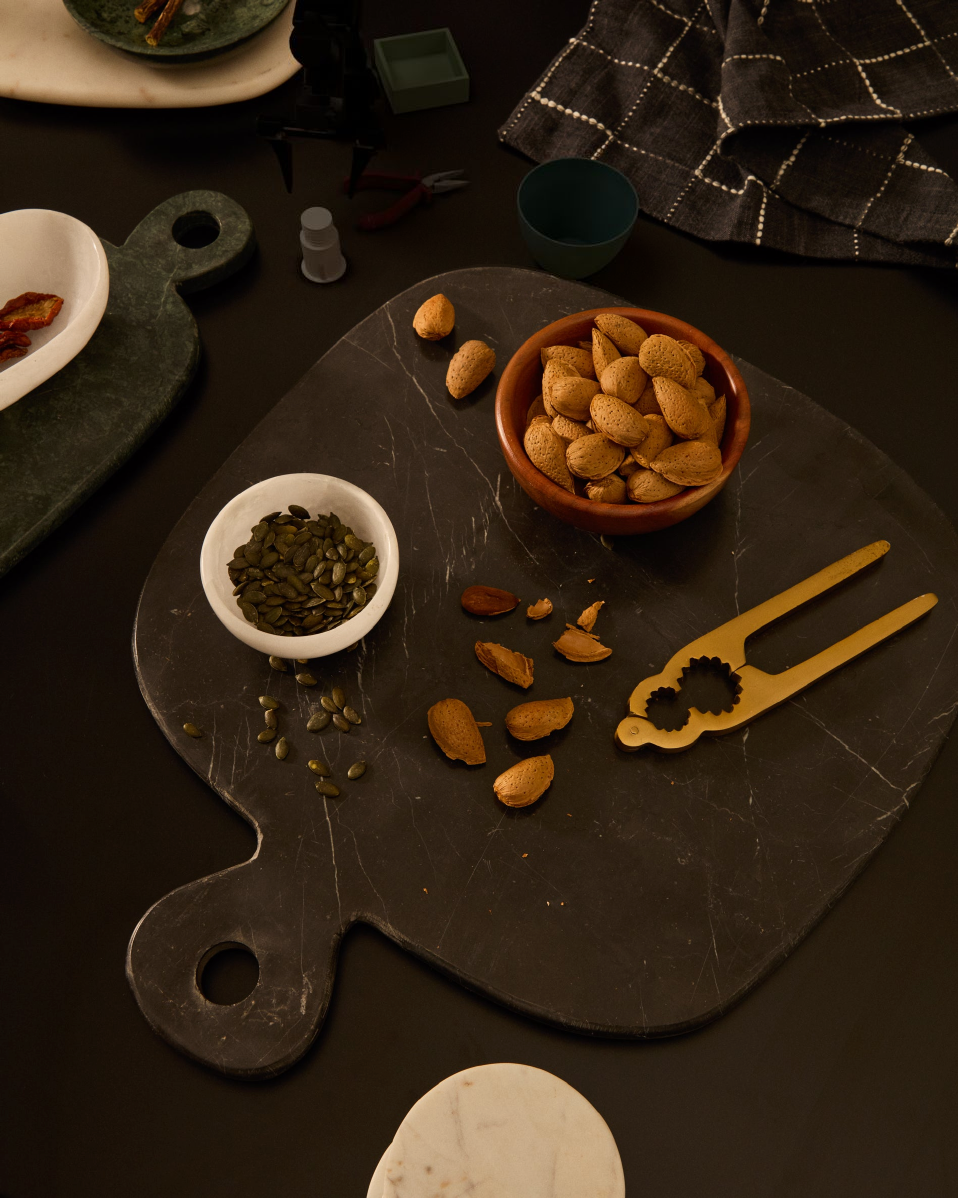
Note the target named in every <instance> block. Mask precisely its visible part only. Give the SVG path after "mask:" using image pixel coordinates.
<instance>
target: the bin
mask: <svg viewBox="0 0 958 1198" xmlns="http://www.w3.org/2000/svg"><path fill="white" fill-rule="evenodd" d="M373 47H374V49H373V50H374V63H375V67H376V69H377V71H378V72H377V73H378V76H379V77H380V80H381V83H382V86H383V88H384V91H385V94H386V96H387V99H388V102H389V105H390V107H391V111H392V114H393V115H398V114H405V113H410V112H411V113H412V112H416V111H423V110H427V109H433V108H439V107H444V106H450V105H455V104H456V105H457V104H462V103H466V102H469V101H470V76H469V74H468V72H467V71H468V70H467V68H466V67H465V63H464V61H463V59H462V57H461V54H460V52H459V50H458V47H457V45H456V42H455V40H454V37H453V36H452V33H451V30H450V28H449V27H444V28H438V29H432V30H425V31H419V32H413V33H407V34H400V35H395V36H394V35H393V36H389V37H381V38H375V39H373Z"/></svg>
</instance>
